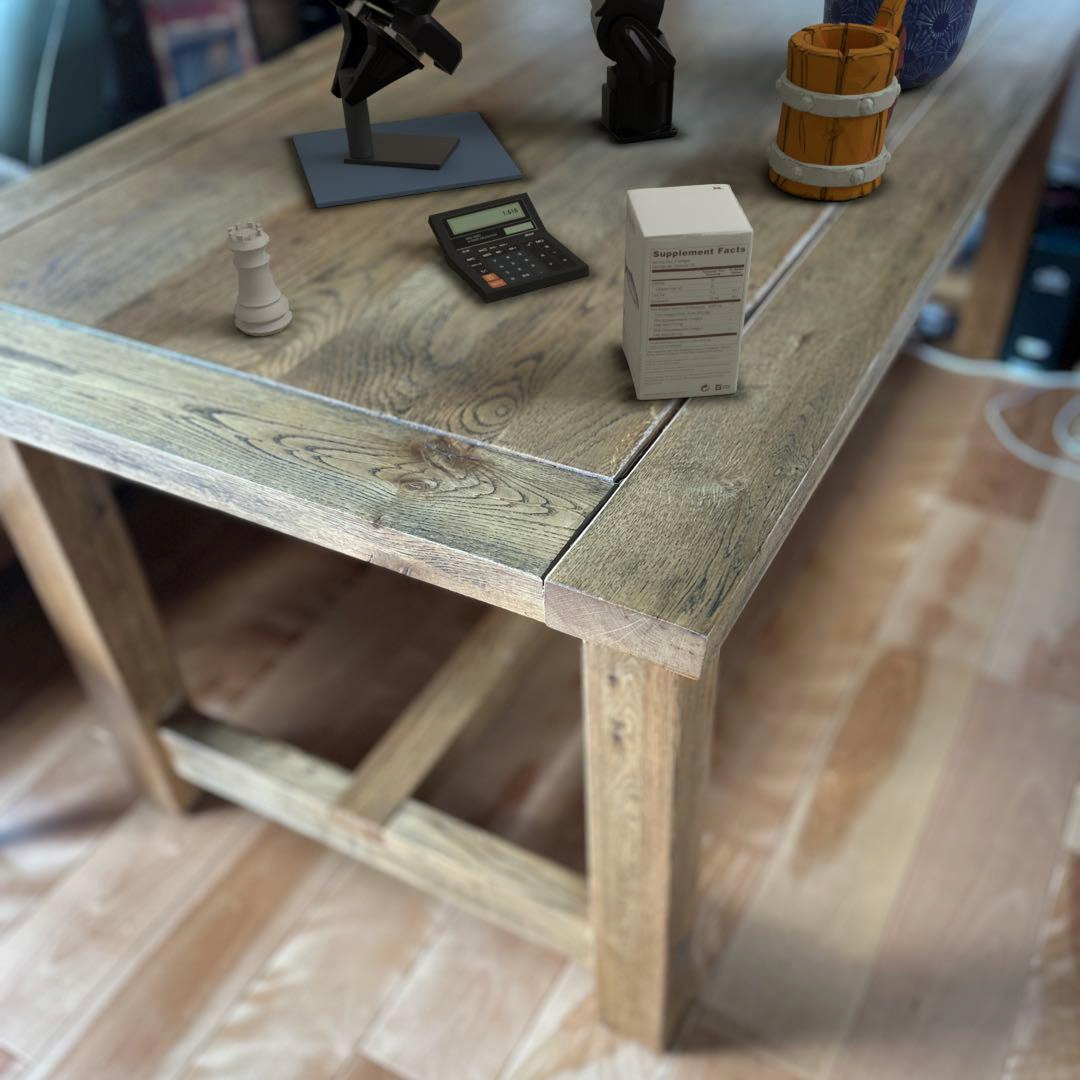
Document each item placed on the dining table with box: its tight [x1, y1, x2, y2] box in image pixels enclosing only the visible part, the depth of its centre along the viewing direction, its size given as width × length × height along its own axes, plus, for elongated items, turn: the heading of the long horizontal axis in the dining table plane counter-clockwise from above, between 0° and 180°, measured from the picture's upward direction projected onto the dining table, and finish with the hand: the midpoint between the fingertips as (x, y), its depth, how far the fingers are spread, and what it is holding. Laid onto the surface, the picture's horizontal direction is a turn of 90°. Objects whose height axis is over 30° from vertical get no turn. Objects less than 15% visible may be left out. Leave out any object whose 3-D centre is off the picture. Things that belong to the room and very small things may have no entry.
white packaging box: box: [621, 183, 755, 401], centre depth 77 cm, size 7×7×13 cm
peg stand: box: [338, 68, 460, 169], centre depth 109 cm, size 10×7×8 cm
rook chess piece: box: [224, 220, 293, 337], centre depth 85 cm, size 4×4×8 cm
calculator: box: [427, 191, 590, 304], centre depth 94 cm, size 9×12×3 cm
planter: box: [822, 0, 979, 90], centre depth 122 cm, size 17×17×15 cm
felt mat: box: [291, 110, 523, 209], centre depth 112 cm, size 20×18×1 cm
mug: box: [765, 0, 907, 202], centre depth 102 cm, size 11×16×15 cm, turn 137°
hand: (341, 99), depth 106 cm, fingers closed on peg stand, 2 cm apart
